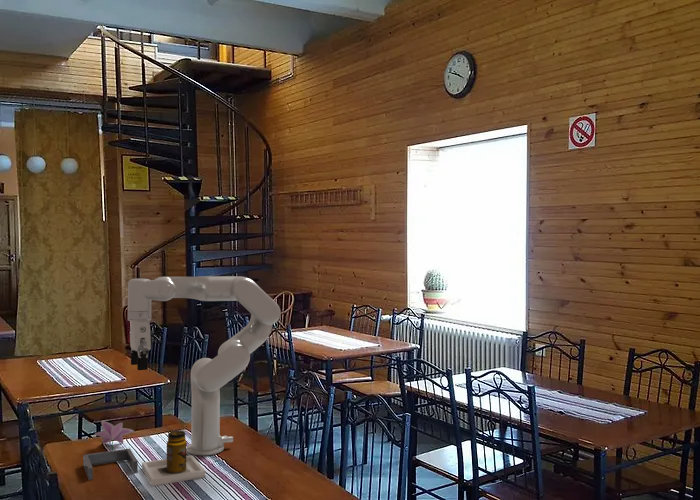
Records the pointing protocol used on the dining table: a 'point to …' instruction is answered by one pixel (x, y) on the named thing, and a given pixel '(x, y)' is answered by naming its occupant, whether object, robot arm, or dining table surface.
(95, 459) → the bracket
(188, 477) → the tray
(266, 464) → the dining table surface
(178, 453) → the condiment
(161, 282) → the robot arm
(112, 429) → the lily
